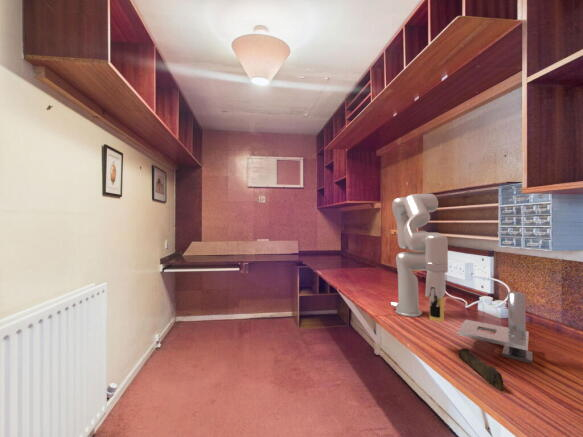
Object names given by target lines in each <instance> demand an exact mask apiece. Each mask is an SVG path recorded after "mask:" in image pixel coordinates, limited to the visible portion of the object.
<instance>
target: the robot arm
mask: <svg viewBox="0 0 583 437" xmlns="http://www.w3.org/2000/svg"><path fill="white" fill-rule="evenodd" d="M391 207H392V208H391V209H392V213H393V216H394V218H395V223H396V230H397V232H396V233H397V235H396V236H397V244H398V246H399V248H400V249H404V250H410V251H402V252H399V253H397V254H396V256H395V263H396V267H397V268H396V269H397V270H396V271H397V282H398V283H397V285H398V286H397V287H398V288H397V291H398V295H397V296H398V302H395V301H391V302H390V305H391V307H394V308H395V313H396V314H398V315H400V316H403V317H410V318H411V317H413V318H417V317H420V316H422V315H423V312H422V310H420V309H419V280H418V277H417V276H416V274H415V273H414V272H413V271H426V278H425V297H426V298H427V299H428V298H429V317H430V316H433V317H437V318H439V317H440V307H439V299H440V298H442V297H443V296H444V297H445V294H446V287H447V286H446V283H447V282H446V273H449V265H448V262H449V261H448V260H449V256H448V255H449V253H448V252H449V251H448V250H449V249H448V247H449V246H448V245H449V244H448V237H447V236H446V235H444V234H442V233H439V232H428V231H425V230H417V229H420V228H421V227H424V226H425V225H427V224H428V223H429V222H430V220H431V214H430V213H433V212H435V211H437V209H438V207H439V199H438V198H437V196H436V195H435V194H433V193H414V194H408V195H407V196H402V197H396V198H394V199H393V201H392V204H391ZM435 297H437V298H435ZM435 300H437V302H436V301H435Z"/></svg>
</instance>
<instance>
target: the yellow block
mask: <svg viewBox="0 0 583 437" xmlns="http://www.w3.org/2000/svg"><path fill="white" fill-rule="evenodd" d="M435 298H437V297H435ZM435 301H436V302H437V300H435ZM439 307H440V317H439V318H437V317H433V316H430V315H429V320H430V321H435V322H439V323H442V322H443V321H444V319H445V295H444V296H443V297H442V298H440V299H439Z"/></svg>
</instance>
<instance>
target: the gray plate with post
mask: <svg viewBox="0 0 583 437" xmlns="http://www.w3.org/2000/svg"><path fill="white" fill-rule="evenodd" d="M507 313H508V314H507V322H508V324H507V326H508V327H507V326H501V325H496V324H491V323H485V322H480V321H474V320H469V319H465V320H464V321H463V323H462V324H461V325H460V327H459V329H457V336H461V337H465V338H470V339H475V340H480V341H483V342H488V343H493V344H498V345H501V346H503V349H502V354H501V355H502V356H501V357H504V358H507V359H508V358H509V359H512V360H516V361H519V362H520V361H521V362H523V363H529V364H533V351H530V350H529V339H530V338H529V337H530V335H529V334H530V333H529V332H530V331H527V330H526V329H527V327H526V326H527V325H526V322H527V321H526V294H525V293H524V292H519V291H508V292H507ZM479 330H480V331H479ZM483 331H486V332H483ZM488 332H491V333H488ZM493 333H494V334H493Z"/></svg>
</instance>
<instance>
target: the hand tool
mask: <svg viewBox="0 0 583 437" xmlns="http://www.w3.org/2000/svg"><path fill="white" fill-rule="evenodd" d="M457 353H458V357H459V359H460V360H462V361H463V362H466V363H467V364H468V365H469V366H470V367H471V368H472V369H473V370H475V371H476V372H478V374H480V375H481V377H483V378H484V381H485V382H486V383H488V384H489V385H491V386H492V387H494V388H495V389H498V391H503V390H504V380H503V376H502V373H501V372H500V371H499V370H497V368H495V367H493V366H492V365H487V364H486V363H485V362H483V361H482V360H481V359H480V358H479V357H477V356H476V355H475V354H473V353H472V352H471V351H470V349H469V348H464V347H462V348H461V349H459V350H458V352H457Z"/></svg>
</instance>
